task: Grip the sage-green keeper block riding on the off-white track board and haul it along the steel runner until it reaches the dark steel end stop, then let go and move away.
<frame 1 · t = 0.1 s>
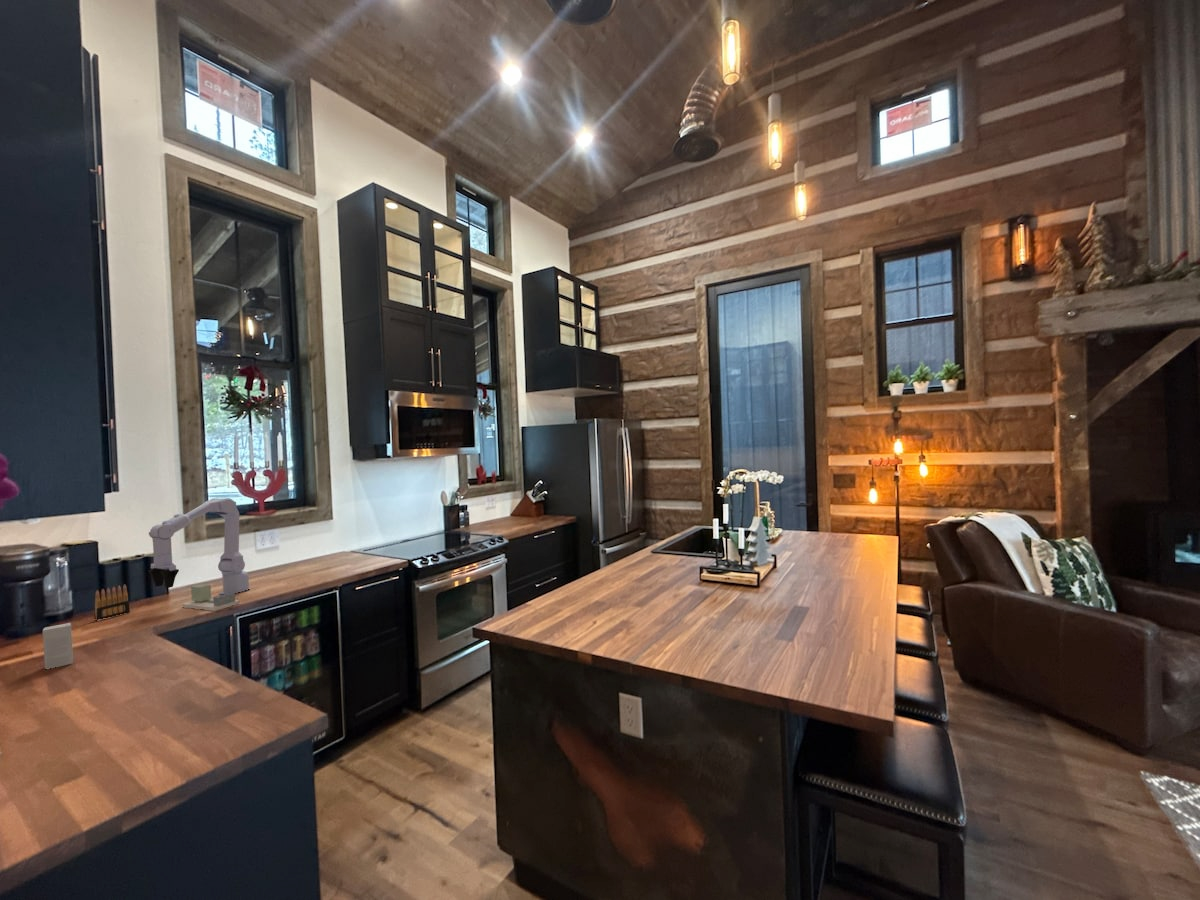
hand: (164, 586, 212), 10 cm above the counter, tool pointing down, fingers open, 7 cm apart
skincare box: (59, 665, 159), on the counter
keeper: (201, 592, 220), point 5 cm above the counter, slide at 0.0 cm
end stop: (224, 607, 215), resting on track board
track board: (211, 605, 218), on the counter
ammunition clip: (112, 617, 207), on the counter
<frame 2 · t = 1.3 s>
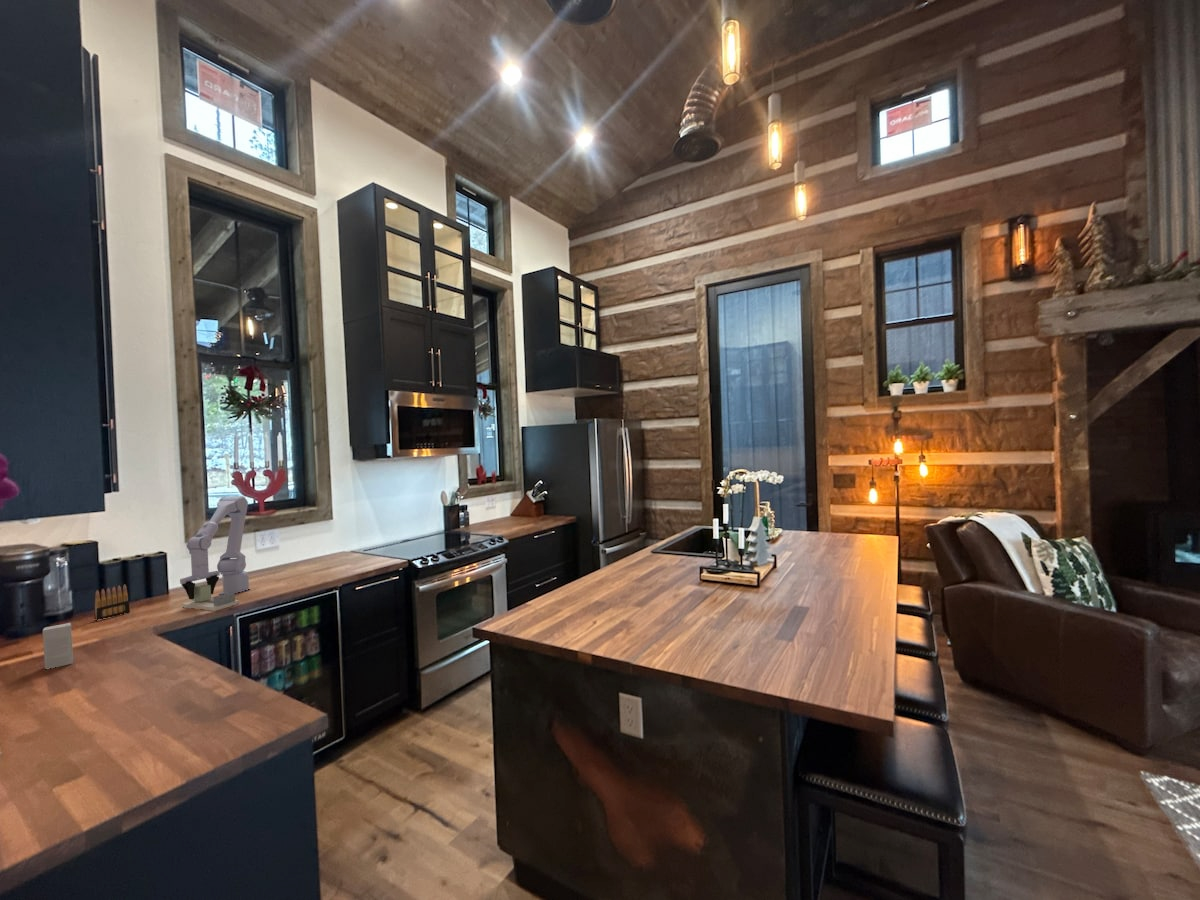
hand: (201, 596, 220), 3 cm above the counter, tool pointing down, fingers open, 7 cm apart
nothing on the counter moved.
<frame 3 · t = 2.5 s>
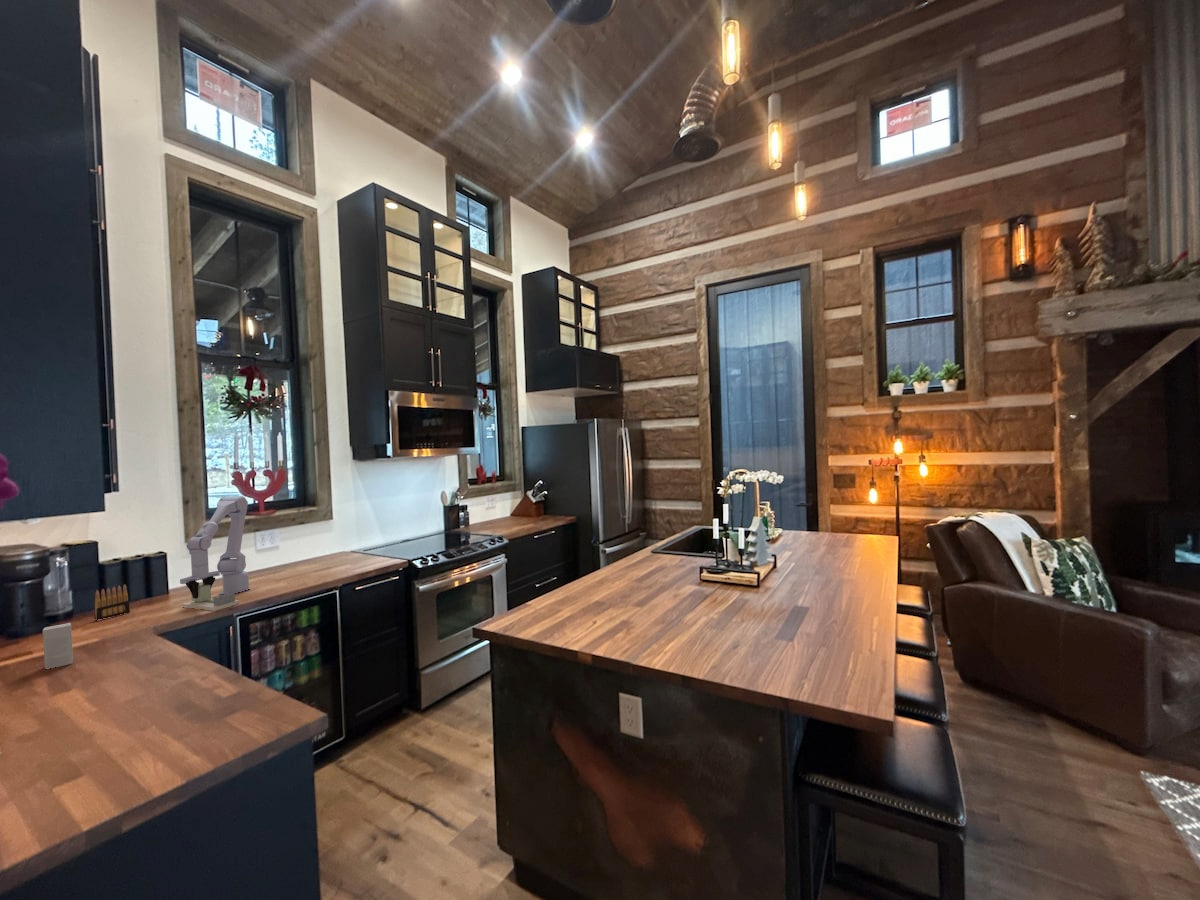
hand: (201, 596, 220), 3 cm above the counter, tool pointing down, fingers closed on keeper, 4 cm apart
keeper: (201, 592, 220), point 5 cm above the counter, slide at 0.0 cm, touching gripper
everything else where it was.
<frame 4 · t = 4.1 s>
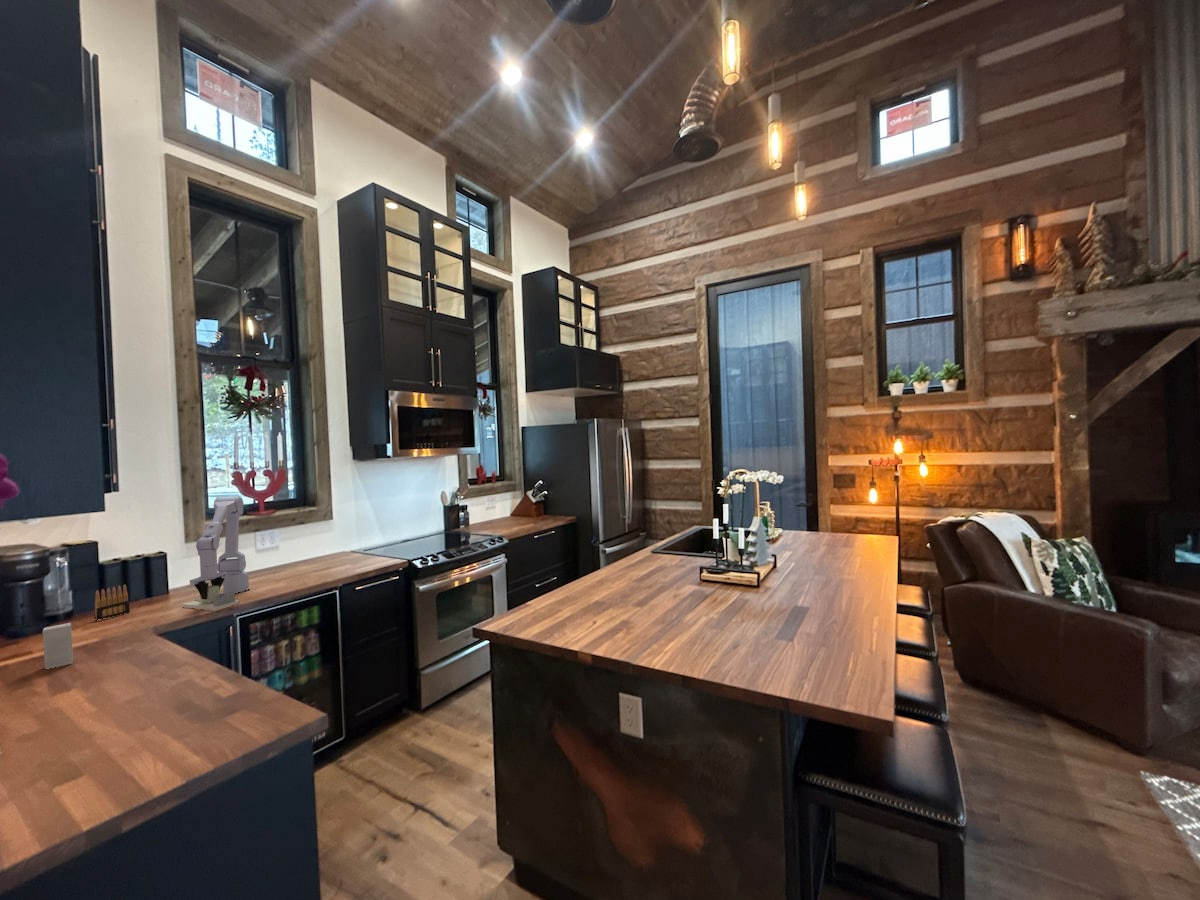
hand: (210, 597, 218), 3 cm above the counter, tool pointing down, fingers closed on keeper, 4 cm apart
keeper: (209, 593, 218), point 5 cm above the counter, slide at 5.5 cm, touching gripper
everything else where it was.
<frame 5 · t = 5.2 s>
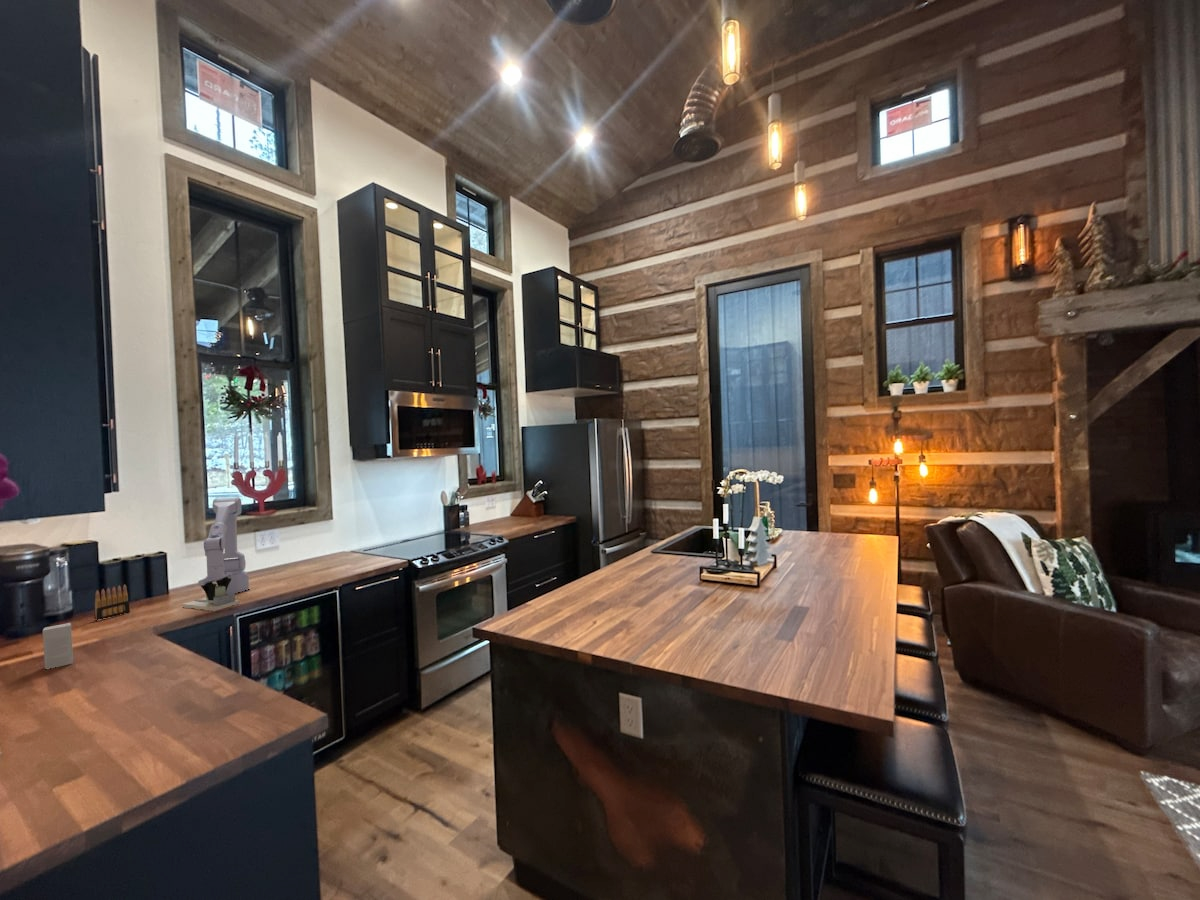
hand: (216, 598, 216), 3 cm above the counter, tool pointing down, fingers closed on keeper, 5 cm apart
keeper: (215, 594, 216), point 5 cm above the counter, slide at 9.3 cm, touching gripper
everything else where it was.
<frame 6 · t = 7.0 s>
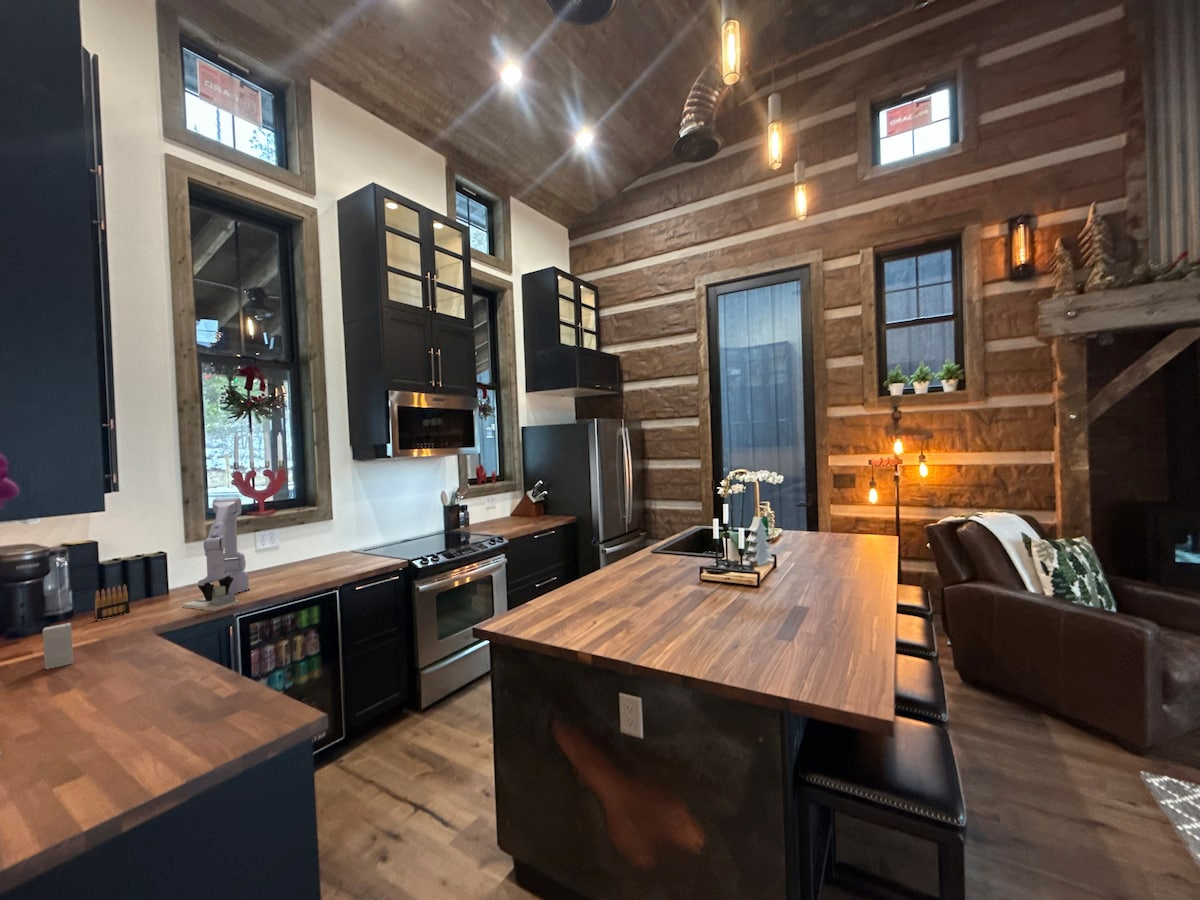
hand: (216, 598, 216), 3 cm above the counter, tool pointing down, fingers open, 7 cm apart
keeper: (215, 594, 216), point 5 cm above the counter, slide at 9.3 cm
everything else where it was.
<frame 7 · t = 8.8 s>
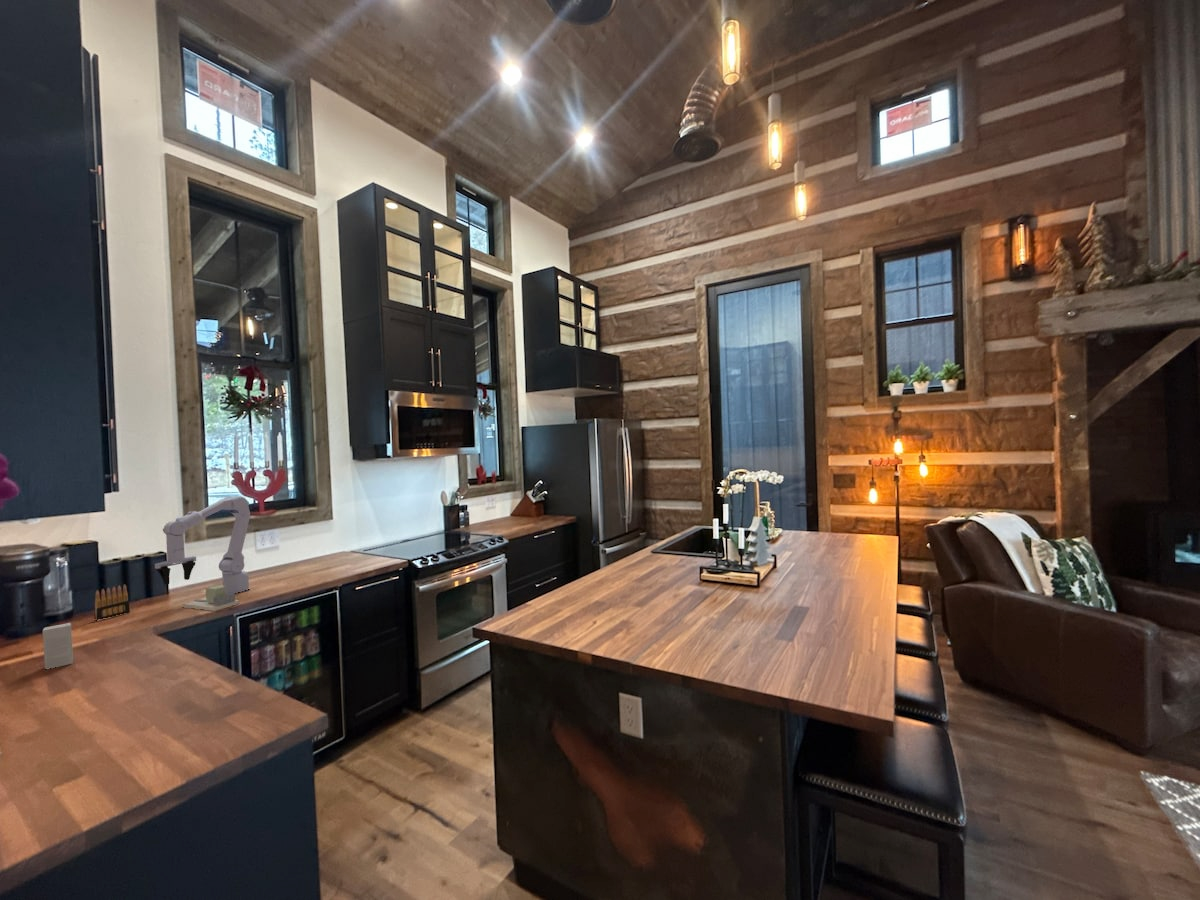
hand: (177, 581, 218), 10 cm above the counter, tool pointing down, fingers open, 7 cm apart
nothing on the counter moved.
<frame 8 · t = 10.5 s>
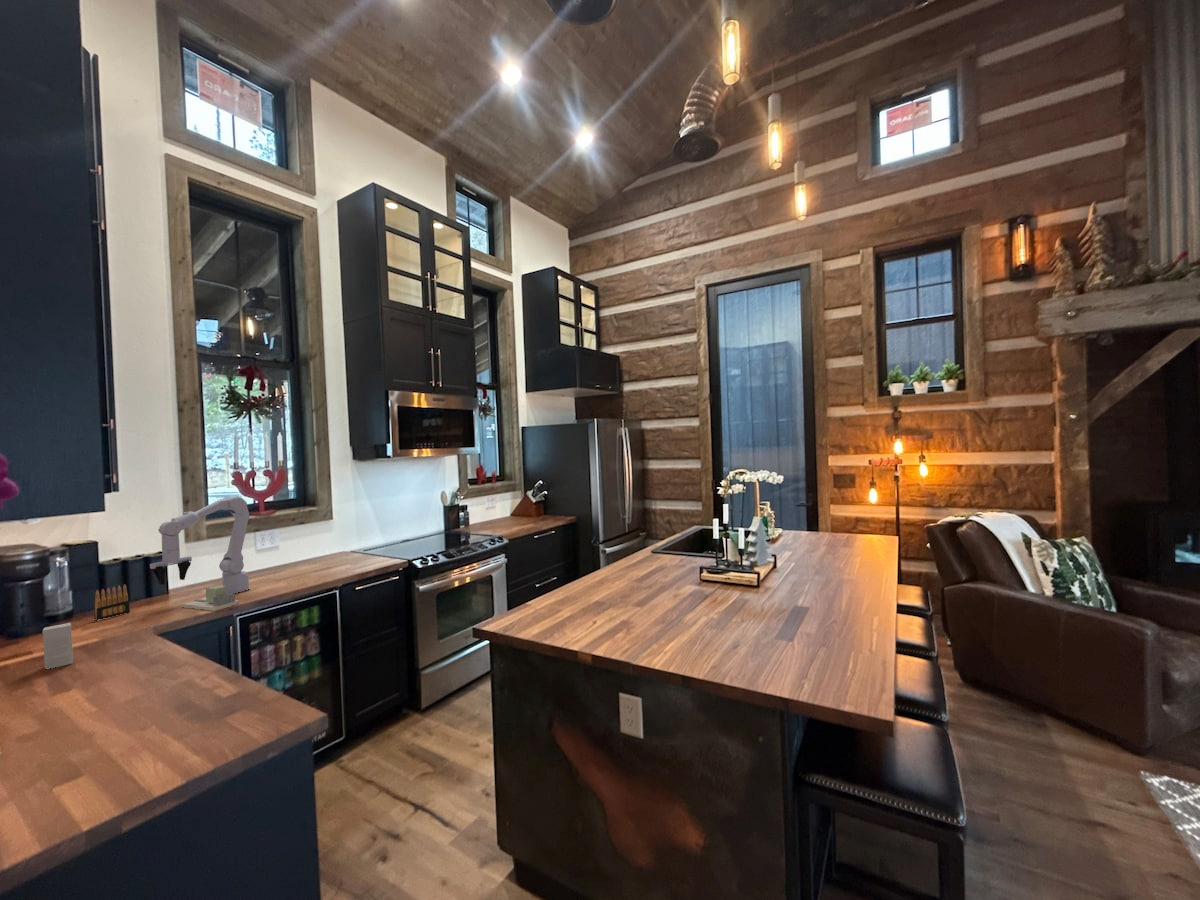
hand: (172, 581, 219), 10 cm above the counter, tool pointing down, fingers open, 7 cm apart
nothing on the counter moved.
at the end: keeper slide at 9.3 cm; the gripper is holding nothing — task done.
